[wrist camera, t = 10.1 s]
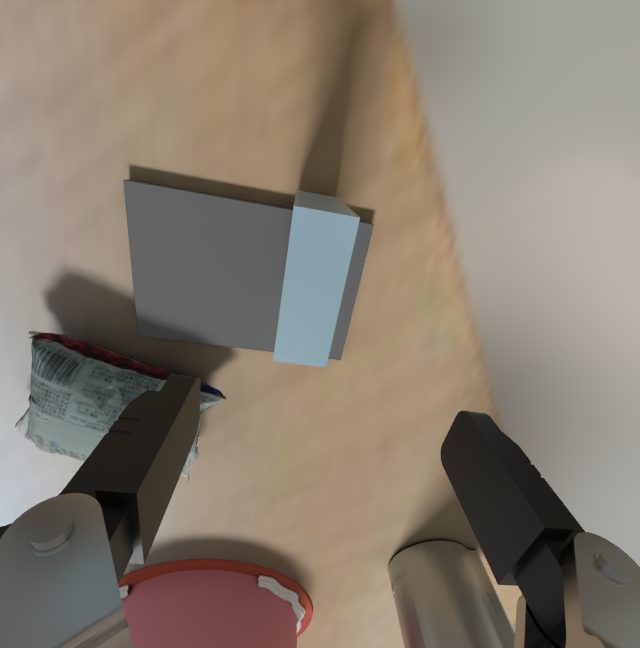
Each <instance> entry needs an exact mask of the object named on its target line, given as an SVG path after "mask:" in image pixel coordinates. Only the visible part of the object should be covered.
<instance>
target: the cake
mask: <svg viewBox="0 0 640 648" xmlns="http://www.w3.org/2000/svg"><path fill="white" fill-rule="evenodd" d="M118 586H119V591H120V595H121V600H122V604H123V609H124V613H125V618H126V621H127V624H128V628H129V632H130V637H131V641H132V646H133V648H296V646H297V637H298V636H299V635H300V634H302V633H303V632H304V630H305V629H306V628H307V627H308V625H309V623H310V621H311V618H312V611H313V607H312V602H311V599H310V597H309V596H308V594H307V593H306V591H305V590H304V589H303V588H302V587H301V586H300V585H298V584H297V583H296V582H294V581H293V580H291V579H290V578H288V577H286V576H284V575H282V574H280V573H278V572H275V571H273V570H270V569H267V568H264V567H261V566H257V565H253V564H249V563H243V562H237V561H230V560H218V559H190V560H179V561H171V562H165V563H160V564H156V565H152V566H148V567H145V568H142V569H139V570H136V571H134V572H131V573H129V574H127V575H125V576H123V577H122V578H121V581H120V583H119V585H118Z"/></svg>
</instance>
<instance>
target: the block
mask: <svg viewBox="0 0 640 648" xmlns="http://www.w3.org/2000/svg"><path fill="white" fill-rule="evenodd" d="M359 221H360V217H359V216H358V215H357V214H355V213H354V212H353V211H352V210H351V209H350V208H349V207H348V206H346V205H345V204H344V203H343V202H342V201H341V200H340V199H339V198H337V197H331V196H326V195H321V194H316V193H310V192H305V191H300V190H296V196H295V201H294V207H293V215H292V222H291V230H290V237H289V245H288V252H287V260H286V267H285V275H284V282H283V290H282V297H281V305H280V312H279V320H278V327H277V335H276V342H275V350H274V357H273V361H277V362H286V363H294V364H303V365H311V366H320V367H326V366H327V362H328V357H329V353H330V349H331V344H332V340H333V335H334V331H335V327H336V322H337V318H338V313H339V309H340V305H341V300H342V296H343V291H344V287H345V282H346V278H347V274H348V269H349V265H350V260H351V256H352V252H353V247H354V243H355V238H356V234H357V230H358V225H359Z"/></svg>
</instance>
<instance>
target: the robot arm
mask: <svg viewBox="0 0 640 648" xmlns="http://www.w3.org/2000/svg"><path fill="white" fill-rule="evenodd" d="M200 385H201V383H200V378H199V377H192V376H184V375H175V374H172V375H170V376H169V378H168V379H167V381H166V382H165V384H164V385H163V387H162V388H161V390H160V391H152V390H147V391H145V392H144V393H142V394H141V395H139V396H138V397H136V398H135V399H133V400H132V401H130V402H129V404H128V405H127V406H126V408H125V409H124V410H123V412H122V413H121V414H120V416H119V417H118V420H116V421H115V422H114V424H113V425H112V426H111V428H110V429H109V431H108V433H107V434H105V435H104V437H103V438H102V439H101V441H100V442H99V443H98V445H97V446H96V447H95V449H94V450H93V451H92V453H91V454H90V455H89V457H88V458H87V459H86V461H85V462H84V463H83V465H82V466H81V467H80V469H79V470H78V471H77V473H76V474H75V475H74V476H73V478H72V479H71V480H70V482H69V483H68V484H67V486H66V487H65V488H64V489H63V491H62V492H61V493H60V494H59V495H58V496H55V497H52V498H49V499H47V500H45V501H43V502H41V503H39V504H37V505H35V506H33V507H32V508H30V509H29V510H27V511H26V512H24V513H23V514H22V515H21V516H20V517H18V518H17V519H16V520H15V521H14V522H13V523H12V524H9V525H6V526H2V527H0V648H133V646H132V641H131V637H130V632H129V628H128V624H127V621H126V618H125V613H124V609H123V604H122V600H121V595H120V591H119V586H118V585H119V583H120V581H121V578H122V576H123V574H124V572H125V569H126V567H127V565H128V563H132V564H144V563H145V560H146V558H147V555H148V553H149V551H150V548H151V546H152V543H153V541H154V538H155V536H156V533H157V531H158V529H159V526H160V524H161V521H162V519H163V516H164V514H165V511H166V509H167V506H168V504H169V502H170V499H171V497H172V494H173V492H174V489H175V487H176V484H177V482H178V480H179V477H180V475H181V472H182V470H183V467H184V465H185V462H186V460H187V458H188V455H189V453H190V450H191V448H192V445H193V443H194V440H195V438H196V434H197V431H198V426H199V419H200ZM441 461H442V465H443V467H444V469H445V471H446V474H447V476H448V478H449V480H450V482H451V484H452V486H453V489H454V491H455V493H456V495H457V497H458V499H459V501H460V504H461V506H462V508H463V510H464V512H465V514H466V516H467V519H468V521H469V523H470V525H471V527H472V529H473V532H474V534H475V536H476V538H477V540H478V542H479V544H480V547H481V549H482V551H483V553H484V555H485V557H486V559H487V562H488V564H489V566H490V568H491V570H492V572H493V574H494V577H495V579H496V581H497V583H498V585H516V586H519V588H520V590H521V592H522V595H521V596H520V598H519V599H518V602H517V611H516V627H515V633H514V630H513V628H512V626H511V624H510V622H509V619H508V617H507V615H506V613H505V611H504V609H503V606H502V604H501V602H500V600H499V598H498V595H497V593H496V591H495V589H494V587H493V584H492V582H491V580H490V578H489V576H488V573H487V571H486V569H485V567H484V565H483V562H482V560H481V558H480V556H479V554H478V552H477V550H469V549H467V548H465V547H464V546H463V545H461V544H458V543H456V542H451V541H429V542H424V543H420V544H416V545H413V546H411V547H409V548H407V549H404V550H403V551H401V552H400V553H398V554H397V555H396V556H395V557H394V558H393V559H392V560H391V562H390V564H389V567H388V571H389V576H390V581H391V586H392V592H393V597H394V600H395V604H396V609H397V614H398V619H399V623H400V628H401V633H402V637H403V642H404V647H405V648H640V567H639V566H638V565H637V564H636V563H635V561H633V559H631V558H630V557H629V556H628V555H627V554H626V553H625V552H624V551H622V550H621V549H620V548H619V547H617V546H616V545H614V544H613V543H611V542H610V541H608V540H607V539H605V538H603V537H601V536H598V535H596V534H593V533H588V532H585V531H584V530H583V529H582V527H581V526H580V525H579V523H578V522H577V521H576V519H575V518H574V517H573V515H572V514H571V513H570V512H569V510H568V509H567V508H566V507H565V505H564V504H563V503H562V501H561V500H560V499H559V497H558V496H557V495H556V493H555V492H554V491H553V490H552V488H551V487H550V486H549V484H548V483H547V482H546V481H545V479H544V478H541V474H540V473H539V471H538V470H537V469H536V468H535V466H534V465H531V463H530V462H531V461H530V460H529V459H528V457H527V456H526V455H525V453H524V452H523V451H522V450H521V448H520V447H519V446H518V445H517V444H516V443H515V442H513V441H512V440H511V439H510V438H509V437H508V436H506V435H505V434H504V433H503V432H501V430H500V429H499V428H498V426H497V425H496V424H495V422H494V421H493V420H492V418H491V417H490V416H489V415H487V414H485V413H477V412H469V411H461V412H459V413H458V414H457V416H456V418H455V420H454V422H453V424H452V426H451V428H450V430H449V432H448V434H447V436H446V438H445V440H444V442H443V444H442V447H441Z"/></svg>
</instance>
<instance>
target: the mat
mask: <svg viewBox="0 0 640 648" xmlns="http://www.w3.org/2000/svg"><path fill="white" fill-rule="evenodd" d="M123 181H124V192H125V202H126V213H127V224H128V234H129V245H130V255H131V266H132V276H133V287H134V297H135V308H136V318H137V329H138V336H143V337H152V338H160V339H168V340H177V341H185V342H194V343H202V344H210V345H219V346H227V347H235V348H244V349H252V350H260V351H269V352H274V350H275V342H276V335H277V327H278V320H279V312H280V305H281V297H282V290H283V282H284V275H285V267H286V260H287V252H288V245H289V237H290V230H291V222H292V215H293V209H291V208H285V207H279V206H274V205H268V204H263V203H257V202H252V201H246V200H240V199H235V198H229V197H224V196H218V195H212V194H207V193H201V192H196V191H190V190H185V189H179V188H173V187H168V186H162V185H157V184H151V183H146V182H140V181H134V180H123ZM372 230H373V224H372V223H369V222H363V221H359V225H358V230H357V234H356V238H355V243H354V247H353V252H352V256H351V260H350V265H349V269H348V274H347V278H346V282H345V287H344V291H343V296H342V300H341V305H340V309H339V313H338V318H337V322H336V327H335V331H334V335H333V340H332V344H331V349H330V353H329V357H328V359H336V360H341V356H342V352H343V348H344V344H345V340H346V336H347V332H348V327H349V323H350V319H351V315H352V311H353V307H354V303H355V299H356V295H357V291H358V287H359V283H360V279H361V274H362V270H363V266H364V262H365V258H366V254H367V250H368V246H369V242H370V238H371V234H372Z"/></svg>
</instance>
